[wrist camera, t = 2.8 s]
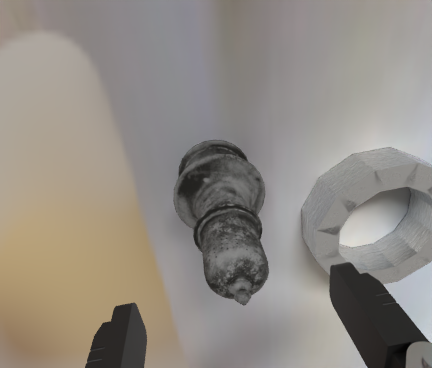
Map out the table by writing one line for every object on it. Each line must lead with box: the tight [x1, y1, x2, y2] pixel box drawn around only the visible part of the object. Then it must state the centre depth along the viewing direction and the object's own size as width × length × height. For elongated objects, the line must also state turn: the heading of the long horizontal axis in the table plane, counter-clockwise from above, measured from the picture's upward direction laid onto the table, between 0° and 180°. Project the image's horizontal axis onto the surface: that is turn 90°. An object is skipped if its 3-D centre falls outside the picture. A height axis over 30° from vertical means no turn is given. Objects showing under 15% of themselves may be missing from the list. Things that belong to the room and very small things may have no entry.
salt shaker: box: [173, 140, 269, 305], centre depth 17 cm, size 6×6×12 cm
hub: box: [302, 147, 432, 284], centre depth 24 cm, size 12×11×3 cm
